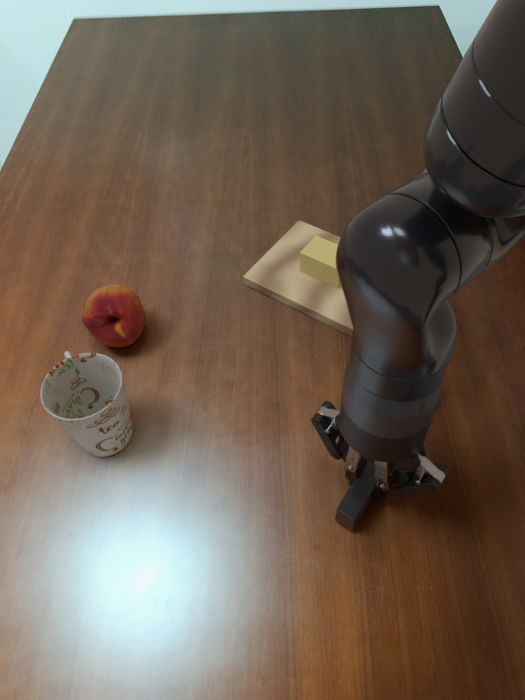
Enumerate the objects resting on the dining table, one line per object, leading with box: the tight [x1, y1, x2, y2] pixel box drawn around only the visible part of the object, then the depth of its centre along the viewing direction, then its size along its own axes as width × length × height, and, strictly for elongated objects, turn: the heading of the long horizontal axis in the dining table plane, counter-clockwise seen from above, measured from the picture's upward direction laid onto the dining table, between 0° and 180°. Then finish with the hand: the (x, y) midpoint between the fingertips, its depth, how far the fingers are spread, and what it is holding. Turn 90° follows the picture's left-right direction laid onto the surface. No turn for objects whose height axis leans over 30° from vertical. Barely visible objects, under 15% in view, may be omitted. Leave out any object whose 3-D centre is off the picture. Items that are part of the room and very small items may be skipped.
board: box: [242, 219, 353, 338], centre depth 79 cm, size 22×14×2 cm, turn 55°
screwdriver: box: [334, 460, 377, 531], centre depth 62 cm, size 20×2×3 cm, turn 145°
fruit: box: [81, 283, 146, 348], centre depth 73 cm, size 8×8×8 cm
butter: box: [300, 236, 341, 288], centre depth 78 cm, size 6×4×4 cm, turn 55°
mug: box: [39, 350, 134, 458], centre depth 64 cm, size 8×13×10 cm, turn 33°
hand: (367, 486), depth 60 cm, fingers closed on screwdriver, 2 cm apart
